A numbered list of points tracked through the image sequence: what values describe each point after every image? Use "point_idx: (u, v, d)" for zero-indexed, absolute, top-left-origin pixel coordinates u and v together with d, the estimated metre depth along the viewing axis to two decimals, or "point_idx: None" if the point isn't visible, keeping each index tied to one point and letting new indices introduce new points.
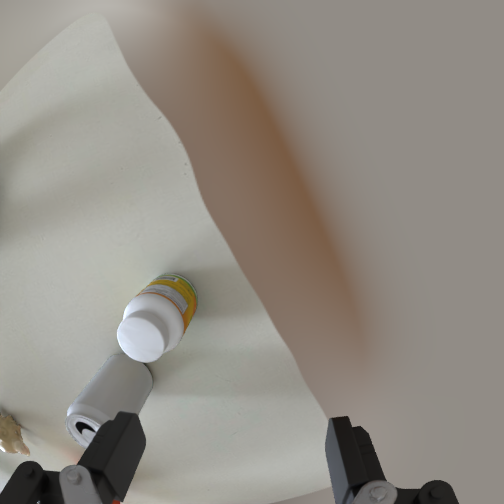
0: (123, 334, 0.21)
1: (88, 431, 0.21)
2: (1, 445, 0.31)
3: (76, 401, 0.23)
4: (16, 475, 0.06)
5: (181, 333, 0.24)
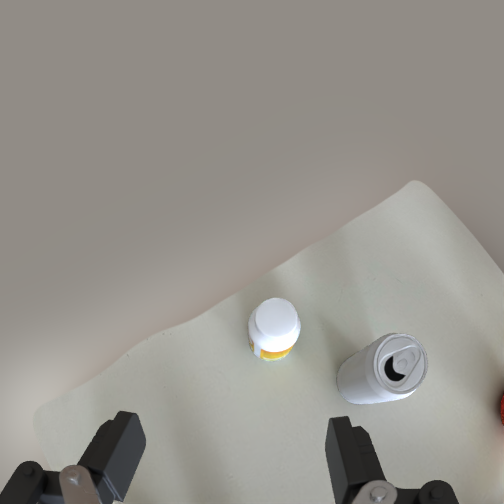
0: (274, 331, 0.27)
1: (395, 365, 0.23)
2: None
3: (369, 388, 0.24)
4: (16, 475, 0.06)
5: None
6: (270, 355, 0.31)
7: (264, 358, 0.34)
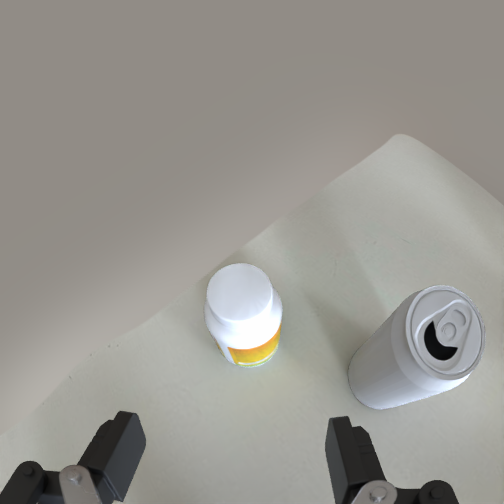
0: (237, 313, 0.17)
1: (440, 334, 0.14)
2: None
3: (405, 380, 0.14)
4: (16, 474, 0.06)
5: None
6: (245, 356, 0.21)
7: (240, 363, 0.23)
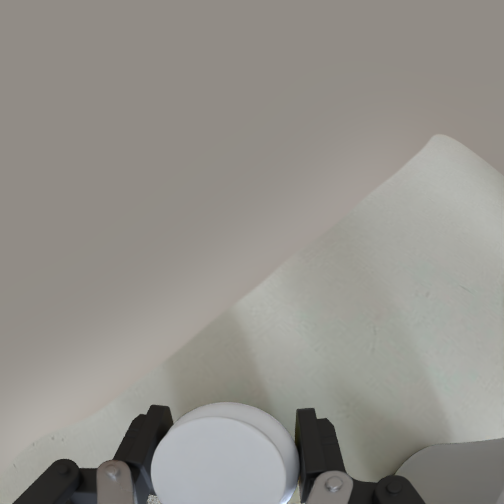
0: None
1: None
2: None
3: None
4: (49, 471, 0.06)
5: (225, 402, 0.10)
6: None
7: None
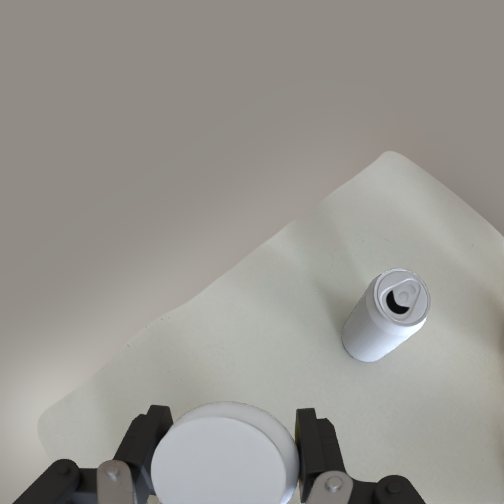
0: None
1: (397, 298, 0.24)
2: None
3: (375, 327, 0.24)
4: (49, 471, 0.06)
5: (225, 402, 0.10)
6: None
7: None
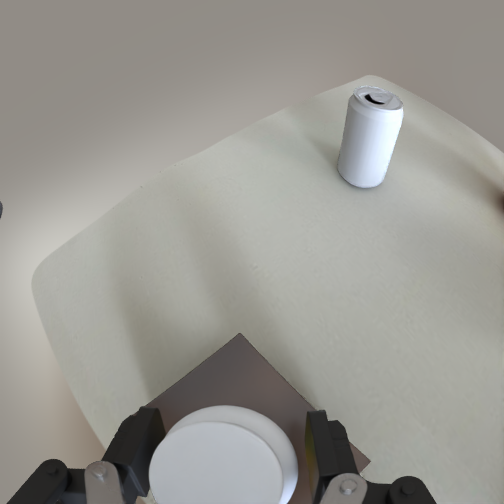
0: None
1: (373, 97, 0.28)
2: None
3: (360, 117, 0.28)
4: (38, 471, 0.06)
5: (223, 406, 0.10)
6: None
7: None
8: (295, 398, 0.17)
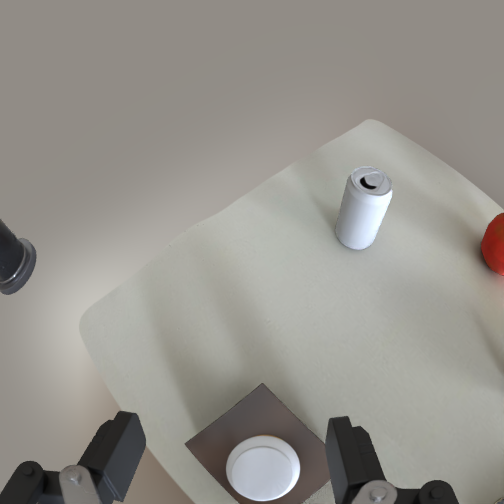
0: (260, 494, 0.15)
1: (367, 181, 0.37)
2: None
3: (355, 200, 0.37)
4: (16, 475, 0.06)
5: (261, 436, 0.19)
6: None
7: None
8: (298, 424, 0.25)
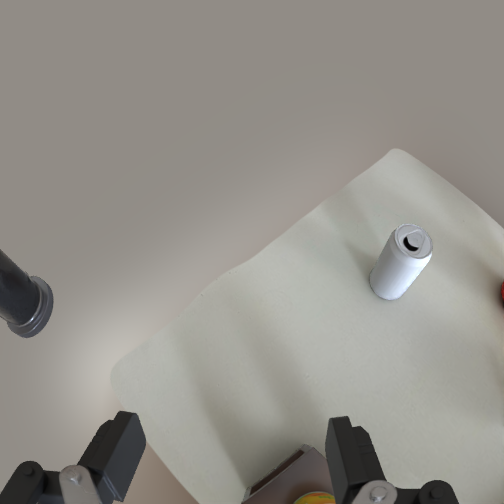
0: None
1: (410, 241, 0.36)
2: None
3: (397, 261, 0.36)
4: (16, 475, 0.06)
5: None
6: None
7: None
8: None
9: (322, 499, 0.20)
